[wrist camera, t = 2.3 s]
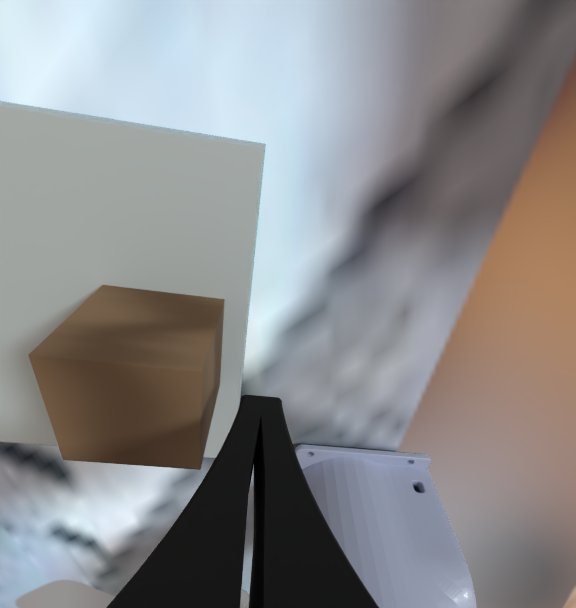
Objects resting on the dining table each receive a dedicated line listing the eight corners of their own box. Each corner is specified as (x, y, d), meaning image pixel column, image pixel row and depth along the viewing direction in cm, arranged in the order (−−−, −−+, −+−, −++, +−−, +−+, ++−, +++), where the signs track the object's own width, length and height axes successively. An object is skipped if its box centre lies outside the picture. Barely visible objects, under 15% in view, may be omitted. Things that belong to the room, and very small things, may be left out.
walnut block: (224, 299, 14) (201, 371, 10) (219, 384, 16) (200, 469, 12) (102, 284, 13) (28, 355, 9) (117, 374, 16) (63, 459, 12)
